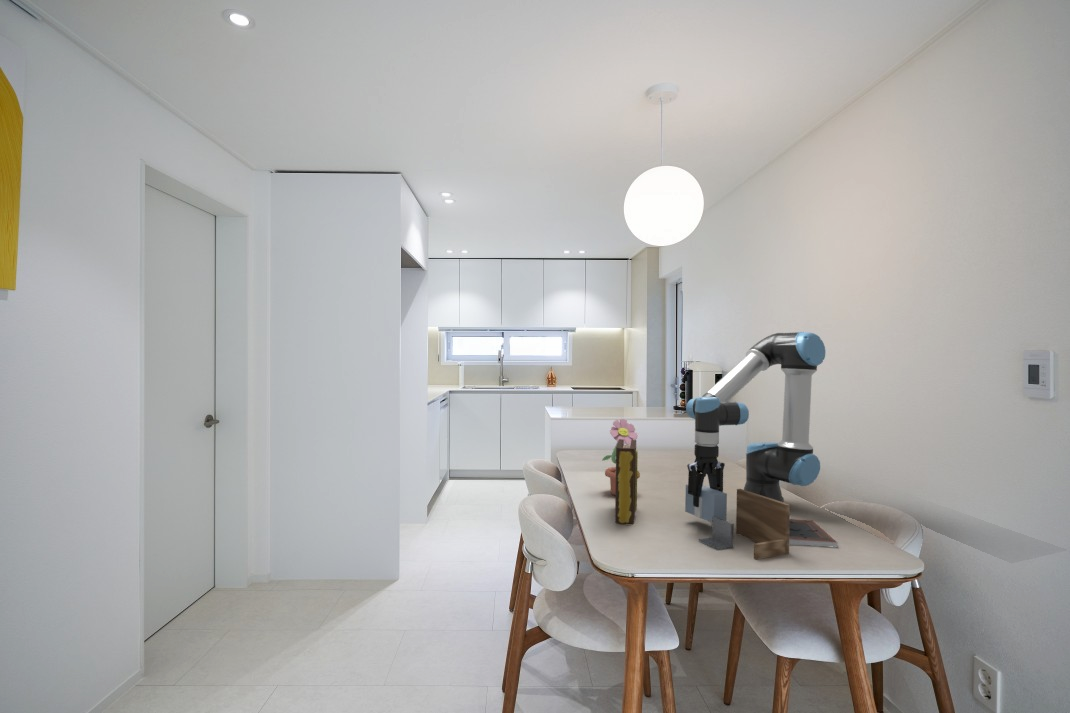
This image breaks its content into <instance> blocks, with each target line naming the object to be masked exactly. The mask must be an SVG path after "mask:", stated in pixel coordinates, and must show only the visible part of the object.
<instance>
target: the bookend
mask: <svg viewBox="0 0 1070 713" xmlns="http://www.w3.org/2000/svg"><path fill="white" fill-rule="evenodd" d="M734 524H735V523H733V522H731V521H729V520H727V519H726V520H723V519H721V518H719V517H716V516H712V523H711V537H706V538H699V539H698V542H700V543H702V544H704V545H706V546H708V547H710V548H712V549H714V550H716V551H720V550H726V549H727V550H728V549H733V548H734V534H735V533H734V532H735V530H734V528H735V527H734V526H735V525H734Z"/></svg>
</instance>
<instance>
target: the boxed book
mask: <svg viewBox="0 0 1070 713" xmlns="http://www.w3.org/2000/svg"><path fill="white" fill-rule="evenodd" d="M700 497H702V518H701V519H702V520H704V521H707V522H709V523H711V524H712V516H716V517H719V518H721V519H723V520H726V521H727V515H728V514H727V509H728V507H727V504H728V493H726V492H724V491H723V492H721V491H718V490H715V489H712V488H710V486H706V485H703V486H702V490H701V494H700ZM684 498H685V502H684V503H685V509H684V511H685V512H686V513H687V514H689V515H690V514H691V515H692V516H694V509H695V506H693V495H690V494H688V484H685V497H684Z"/></svg>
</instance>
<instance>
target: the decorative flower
mask: <svg viewBox="0 0 1070 713" xmlns="http://www.w3.org/2000/svg"><path fill="white" fill-rule="evenodd" d="M612 425H613V426H611V428H610V430H609V434H610V435H611V437H613V439H614V440H615V441H616V443H615V446H614V448H613V451H612V453H611V454H609V455H605V456H604V457H603V458H602V460H601V461H608V460H609V459H610V460H611V462H612V463H613V464H615V465H616V446H617V443H618V440H619V439H623V440H624V445H631V440H636V441H637V439H638V435H639V434H638V433H637V432H636V428H635V426H634V424H632V423H628V420H627V419H625V418H620V419H615V420H614V421H613V422H612ZM615 471H616V466H612V467H608V468H606V469H605V471H604V475H605V477H607V478H609V484H610V492H611V494H612V495H614V496H615V495H616V476H615ZM640 477H641V473H640V472H639V478H640Z"/></svg>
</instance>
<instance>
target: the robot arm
mask: <svg viewBox="0 0 1070 713" xmlns="http://www.w3.org/2000/svg"><path fill="white" fill-rule="evenodd" d="M825 358H826V346H825V343H824V341H823V340H822V339H821V337H820V336H819V335H818V334H816V333H814V332H808V331H806V332H805V331H800V332H799V331H798V332H776V333H773V334H772V333H771V334H770V335H768V336H766V337H764V338H763V339H761V340H760V341H758V342H756V343H755V344H754V345H752V346H751V347H750V348H749V349H748V350H747V351H746V352H745V356H744V357H743V358H742V359H741V360H740V361H739V362H738V363H737V364H736V365H734V367H732V368H731V370H729V371H728V372H727V373H726V374H725V375H724V376H723V377H721V378H720V379H719V380H718V381H717V382H716V383H715V384H714V385H713V386H712V387H711V388H709V390H707V391H706V392H705V393H704V394H703V395H702V396H698V397H696V398H691V399H689V400H688V402H687V403H686V414H687V416H688V417H689V418H691V419H693V420H694V425H695V426H694V443H695V444H694V456H695V459H694V462H692V463H688V464H687V465H686V466H687V470H688V474H687V475H688V480H687V481H688V482H687V485H688V494H690V495H693V506H695V509H694V515H693V516H695V517H697V518H699V519H702V497H700V494H701V490H702V486H704V481H705V478H706V476H707V479H708V484H709V488H712V489H715V490H718V491H721V492H724V469H725V466H726V465H725V464H726V463H724V462H721V461H718V457H719V455H720V454H719V453H720V452H719V450H720V449H719V444H720V426H738V425H739V426H740V425H743V424H746V423H747V421H748V419H749V417H750V416H749V415H750V414H749V412H750V411H749V408H748V406H747V405H746V404H745V403H743V402H736V401H734V402H730V400H732V399H733V397H735V396H736V395H737V394H738V393H739V392H741V390H742V389H743V388H744V387H745V386H746V385H748V384H749V383H750V382H751V381H752V380H753V379H755V377H756V376H757V375H759V373H760V372H763V371H767V370H768V369H769V368H770V367H772V366H775V365H780V370H781V372H783V373H784V375H785V376H784V395H783V397H784V398H783V416H782V436H781V437H782V438H781V441H779V442H771V441H770V442H752V443H749V444H748V445H747V447H746V453H745V456H746V459H745V460H746V461H745V462H746V468H745V470H746V475H745V477H746V478H745V479H746V480H745V484H744V488H743V490H746V491H749V492H752V493H755V494H758V495H762V496H765V497H768V498H771V499H774V500H777V501H780V502H784V503H785V498H784V497H783V495H782V494H783V493H782V489H781V485H780V481H781V482H785V483H788V484H791V485H792V486H800V487H806V486H810V485H811V484H812V483H814V482H815V481H816V480H817V478H818V477H819V474H820V471H821V460H820V459H819V457H818V456H817V455H815V454H814V446H812V444H810V424H811V423H810V422H811V404H812V403H811V402H812V401H811V400H812V399H811V398H812V380H813V377H812V376H813V375H814V374H815V373H816V372H817V371H818V366H821V364H822V363H823V362H824V360H825Z"/></svg>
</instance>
